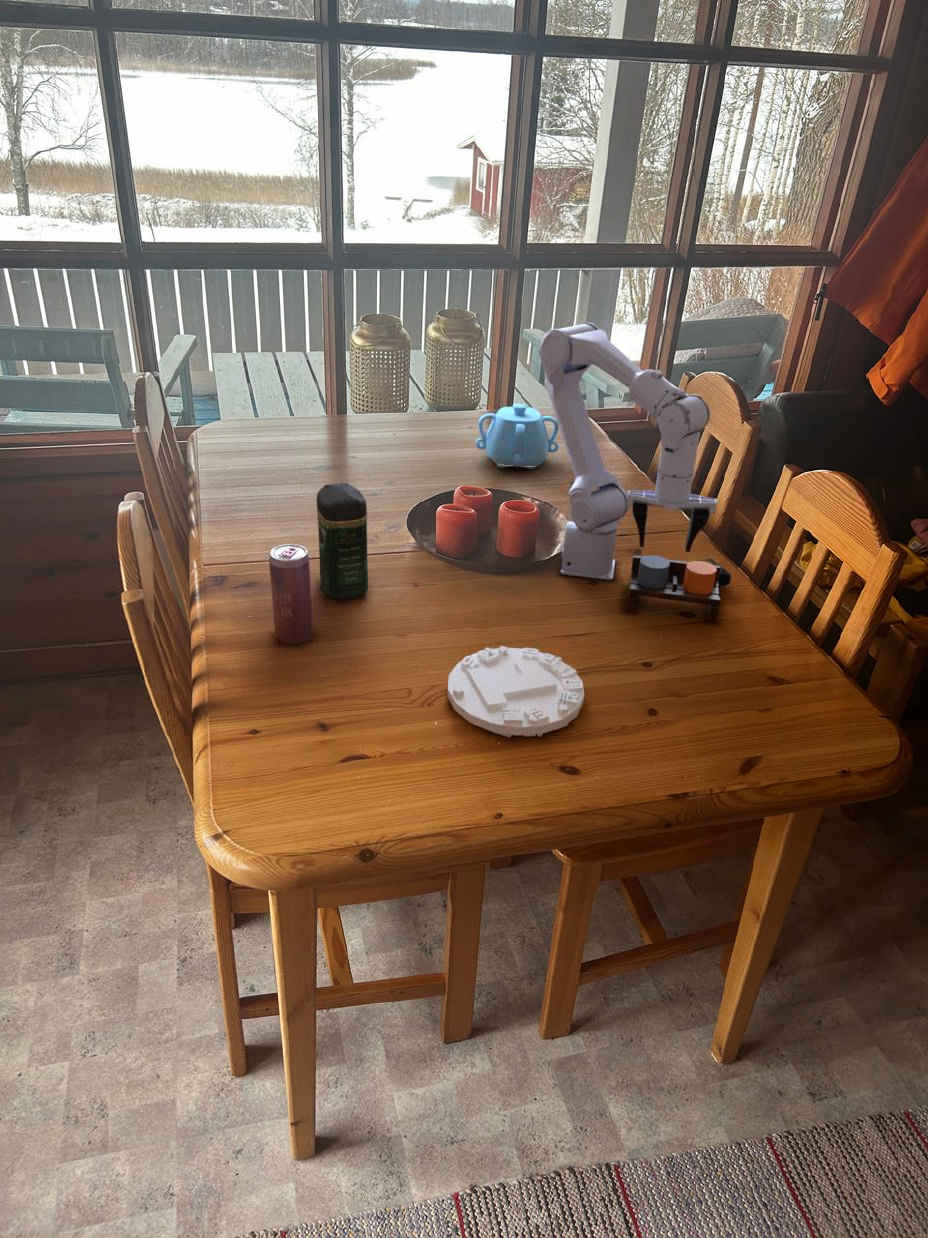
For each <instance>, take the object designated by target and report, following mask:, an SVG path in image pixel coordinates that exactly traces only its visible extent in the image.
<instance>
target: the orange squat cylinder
mask: <svg viewBox="0 0 928 1238" xmlns="http://www.w3.org/2000/svg"><path fill="white" fill-rule="evenodd" d="M688 562H689V563H688V564H687V566H686V572H685V577H684V583H683V588H684V589H685V590H686V591H688V592H690V593H692V594H696V595H707V594H710V593H711V592H712V590H713V586H714V581H715V576H716V571H717V569H716V567H715V566H714V565H712V564H710V563H708V562H704V561H694V560H692V561H688Z"/></svg>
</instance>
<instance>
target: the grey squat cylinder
mask: <svg viewBox="0 0 928 1238" xmlns="http://www.w3.org/2000/svg"><path fill="white" fill-rule="evenodd" d="M641 557H642V558H641V560H640V566H639V572H638V579H637V581H638V583H639V584H640V585H641V586H643V587H645V588H649V589H661V588H664V587H665V586H666V584H667V578H668V572H669V566H670V563H669V561H668V560H669V559H667V558H665V557H663V556H660V555H654V554H653V555H652V554H650V555H644V556H641Z"/></svg>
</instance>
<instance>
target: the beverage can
mask: <svg viewBox="0 0 928 1238" xmlns="http://www.w3.org/2000/svg"><path fill="white" fill-rule="evenodd" d="M268 564H269V576H270V587H271V588H270V590H271V600H272V601H271V602H272V613H273V626H274V635H275V637H276V638H277V639H278V640H279V641H280V642H281V643H284V644H287V645H299V644H303V643H305V642H308V640H309V639H310V638H311V636H312V635H313V633H314V627H313V610H312V608H313V607H312V591H311V589H312V588H311V575H310V574H311V572H310V557H309V554H308V550H307V548H306V547H305V546H302V545H300V544H294V543H287V544H286V543H285V544H280V545H278V546H274V547H273V548H271V550H270V551H269V558H268Z"/></svg>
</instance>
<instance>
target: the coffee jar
mask: <svg viewBox="0 0 928 1238" xmlns="http://www.w3.org/2000/svg"><path fill="white" fill-rule="evenodd" d="M367 506H368V505H367V500H366V497H365V495H363V493H362V492H361V491H360V489H358V488H356V487H355V486H353V485H350V484H349V483H348V482H339V483H328V484H325V485H323V487H321V488H320V489H319V490H318V492H317V494H316V512H317V513H316V514H317V524H318V525H317V528H318V530H317V531H318V552H319V553H318V555H319V557H318V558H319V581H320V585H321V587H322V590H323V592H324V593H325V595H327V596H328V597H329V598H330V599H336V600H345V601H346V600H347V601H348V600H353V599H356V598H358V597H359V598H360V597H361V596H364V595H366V594H367V593H368V590H369V571H368V567H369V566H368V564H369V563H368V509H367Z"/></svg>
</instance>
